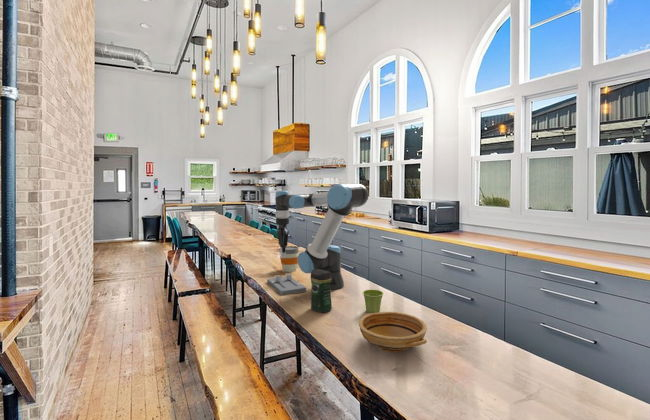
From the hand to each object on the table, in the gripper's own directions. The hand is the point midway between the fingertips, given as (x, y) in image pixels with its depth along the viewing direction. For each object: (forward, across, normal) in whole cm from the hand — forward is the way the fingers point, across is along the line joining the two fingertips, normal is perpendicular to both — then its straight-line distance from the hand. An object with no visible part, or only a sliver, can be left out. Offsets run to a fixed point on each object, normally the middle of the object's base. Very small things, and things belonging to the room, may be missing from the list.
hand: (283, 257), depth 210 cm
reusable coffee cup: (+15, -23, +14) cm, 31 cm away
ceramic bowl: (+15, +95, +4) cm, 96 cm away
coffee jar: (+15, +51, -2) cm, 53 cm away
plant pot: (+15, +64, +18) cm, 68 cm away
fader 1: (+12, +5, -6) cm, 14 cm away
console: (+14, +10, -2) cm, 17 cm away
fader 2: (+12, +5, +1) cm, 13 cm away
